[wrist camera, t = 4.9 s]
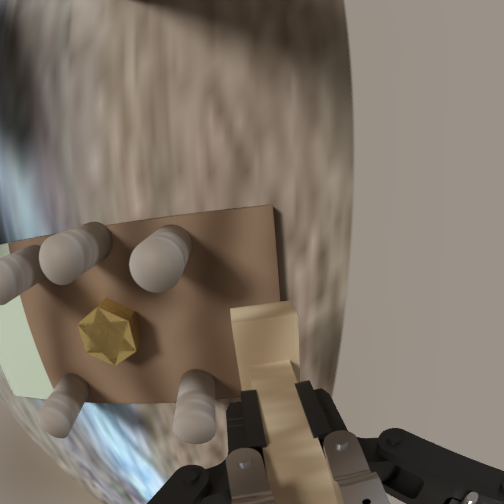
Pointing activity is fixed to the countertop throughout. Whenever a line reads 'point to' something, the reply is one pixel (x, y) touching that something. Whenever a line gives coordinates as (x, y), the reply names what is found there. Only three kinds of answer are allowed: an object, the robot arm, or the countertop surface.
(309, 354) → the countertop surface
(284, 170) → the countertop surface
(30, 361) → the green pad
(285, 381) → the light wood t-shaped block
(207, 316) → the board
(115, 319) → the gold star hexagon
